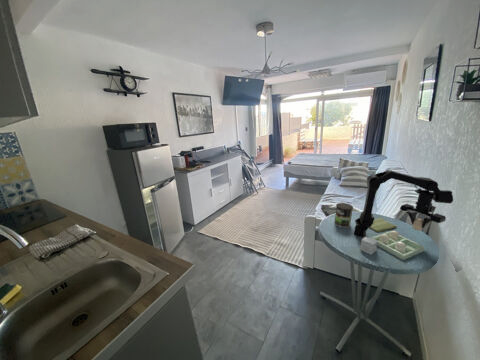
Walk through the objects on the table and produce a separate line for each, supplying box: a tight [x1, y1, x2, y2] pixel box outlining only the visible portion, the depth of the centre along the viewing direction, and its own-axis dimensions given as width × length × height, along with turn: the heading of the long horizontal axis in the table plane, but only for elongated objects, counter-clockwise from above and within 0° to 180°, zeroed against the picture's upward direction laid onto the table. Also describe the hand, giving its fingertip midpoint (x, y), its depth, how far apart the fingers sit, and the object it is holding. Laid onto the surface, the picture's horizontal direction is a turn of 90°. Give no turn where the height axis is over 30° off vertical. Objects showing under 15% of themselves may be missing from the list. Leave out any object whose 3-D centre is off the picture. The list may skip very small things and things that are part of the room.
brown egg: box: [411, 217, 424, 232], centre depth 113 cm, size 4×4×6 cm
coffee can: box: [334, 202, 354, 229], centre depth 139 cm, size 10×10×14 cm
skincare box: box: [359, 235, 378, 255], centre depth 111 cm, size 6×6×7 cm
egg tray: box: [371, 230, 426, 261], centre depth 114 cm, size 18×18×3 cm
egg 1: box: [379, 233, 389, 245], centre depth 115 cm, size 4×4×6 cm
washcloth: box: [368, 217, 398, 233], centre depth 135 cm, size 13×18×3 cm
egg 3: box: [395, 242, 406, 254], centre depth 108 cm, size 4×4×6 cm
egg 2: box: [389, 230, 400, 242], centre depth 118 cm, size 4×4×6 cm
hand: (418, 226), depth 114 cm, fingers closed on brown egg, 4 cm apart
